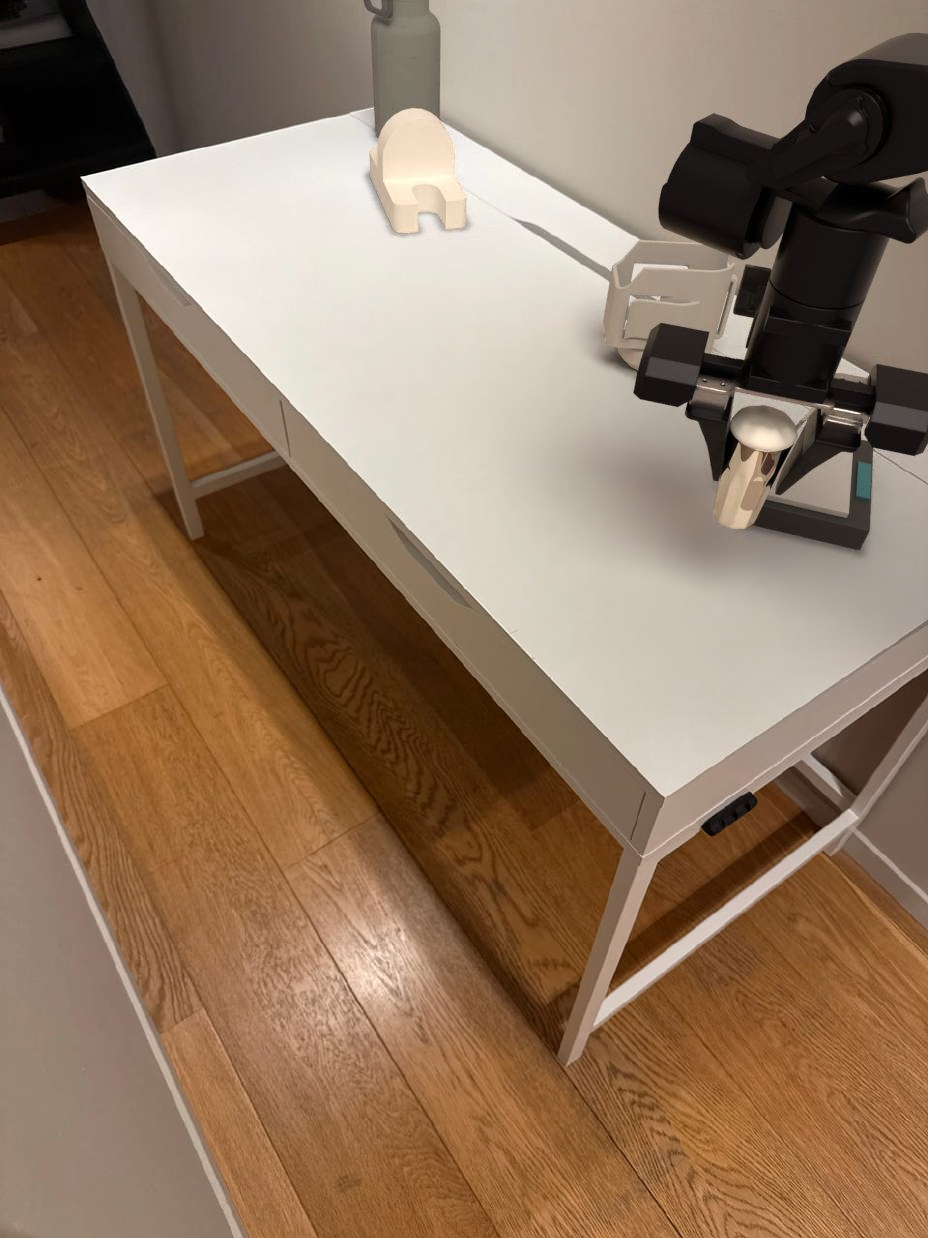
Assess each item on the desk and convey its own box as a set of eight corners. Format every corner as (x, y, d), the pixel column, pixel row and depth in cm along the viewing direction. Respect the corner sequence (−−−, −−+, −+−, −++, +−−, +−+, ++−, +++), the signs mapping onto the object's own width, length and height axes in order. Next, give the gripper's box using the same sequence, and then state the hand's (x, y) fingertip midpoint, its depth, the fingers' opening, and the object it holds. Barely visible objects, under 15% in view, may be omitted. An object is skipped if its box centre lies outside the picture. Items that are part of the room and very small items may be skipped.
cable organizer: (598, 343, 98) (615, 237, 89) (709, 349, 98) (738, 243, 89) (601, 378, 94) (620, 271, 84) (719, 384, 94) (750, 277, 84)
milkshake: (781, 536, 66) (827, 426, 58) (709, 535, 65) (746, 424, 58) (766, 495, 69) (808, 385, 61) (697, 494, 68) (731, 384, 61)
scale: (864, 461, 86) (876, 436, 84) (859, 550, 78) (872, 525, 75) (760, 438, 88) (769, 413, 85) (745, 523, 79) (754, 498, 77)
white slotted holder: (435, 169, 126) (435, 85, 118) (467, 227, 115) (470, 138, 107) (368, 174, 124) (364, 89, 116) (395, 233, 113) (392, 144, 105)
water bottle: (398, 153, 129) (392, -87, 108) (360, 131, 134) (347, -103, 113) (452, 137, 134) (457, -97, 112) (413, 116, 138) (411, -112, 117)
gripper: (973, 251, 56) (879, 446, 68) (683, 202, 60) (641, 397, 72) (985, 341, 49) (878, 542, 61) (655, 281, 53) (614, 482, 65)
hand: (747, 484), depth 65 cm, fingers closed on milkshake, 4 cm apart
